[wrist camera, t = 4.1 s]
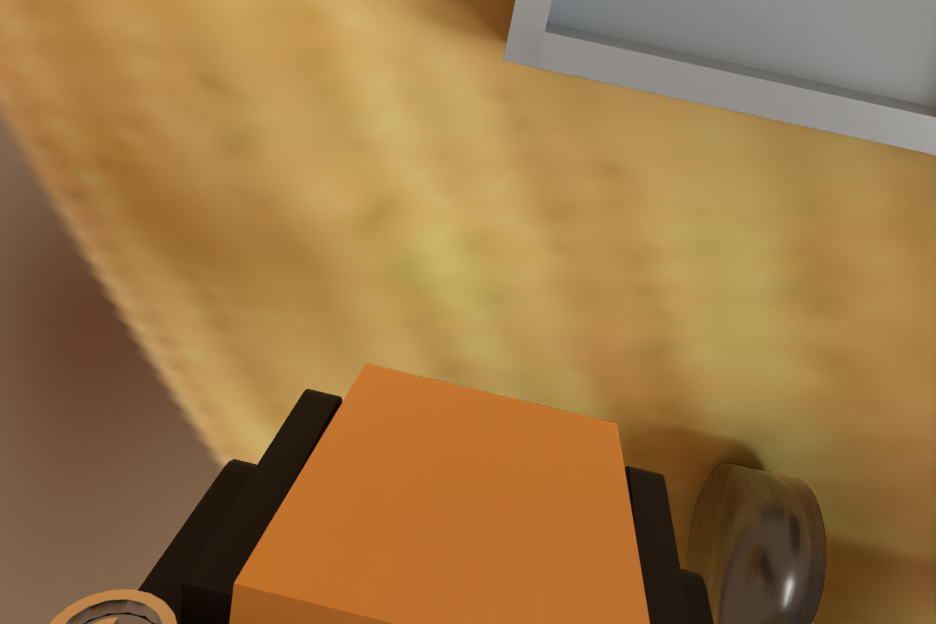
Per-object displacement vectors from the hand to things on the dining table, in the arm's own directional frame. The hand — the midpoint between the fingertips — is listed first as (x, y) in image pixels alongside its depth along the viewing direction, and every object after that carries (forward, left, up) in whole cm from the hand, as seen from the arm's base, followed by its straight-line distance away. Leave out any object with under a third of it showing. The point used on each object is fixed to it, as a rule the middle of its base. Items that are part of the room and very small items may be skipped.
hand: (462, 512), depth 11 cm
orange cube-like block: (0, +1, -1) cm, 1 cm away
